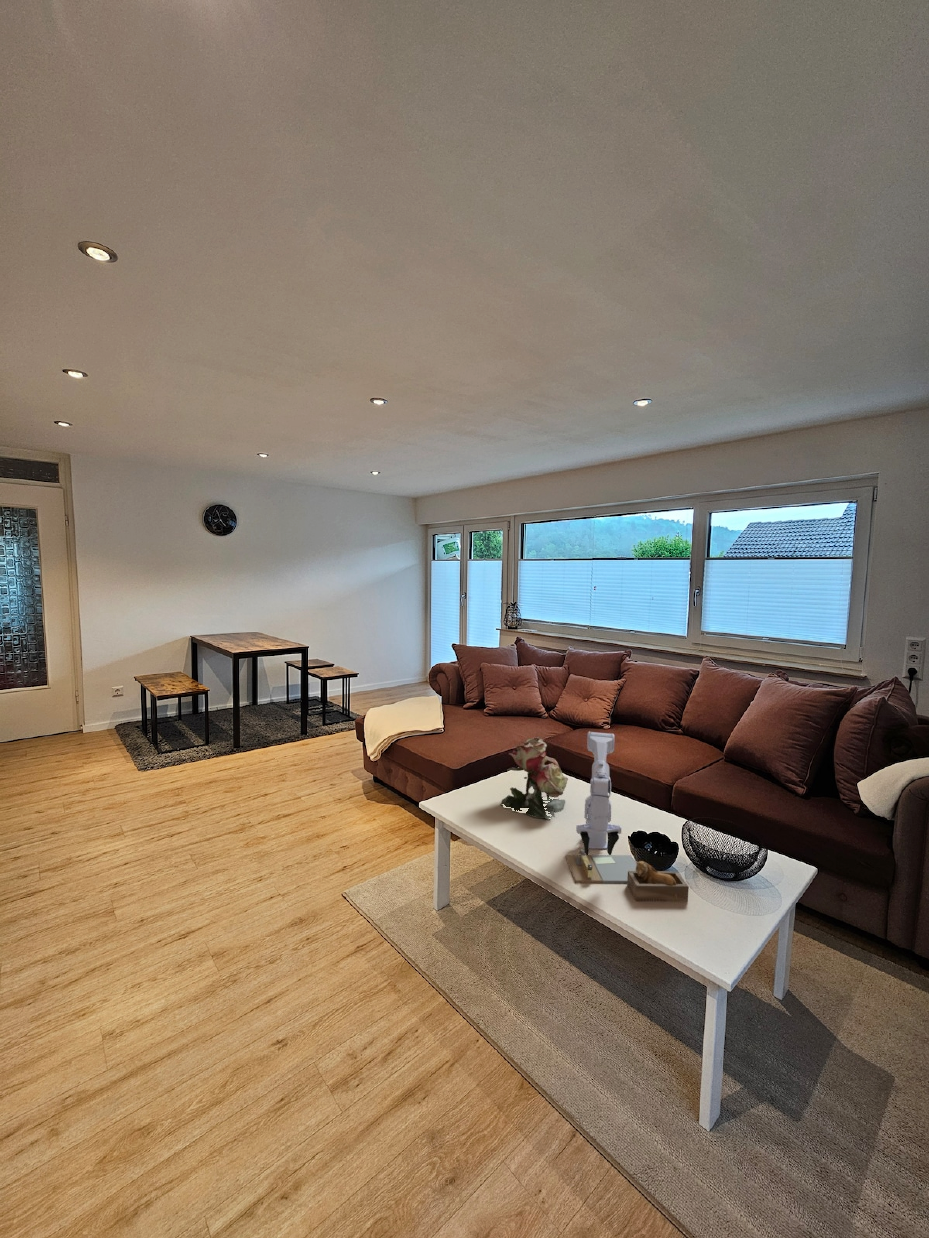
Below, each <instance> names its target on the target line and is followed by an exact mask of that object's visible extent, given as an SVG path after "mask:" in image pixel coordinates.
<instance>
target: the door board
mask: <svg viewBox="0 0 929 1238" xmlns="http://www.w3.org/2000/svg"><path fill="white" fill-rule="evenodd" d="M581 855H586V854H585V851H584V850H582V849H581V850H579V854H565V856H564V857H565V859H566V862H567V864H568V867H569V869H570V872H571V875H572V877H573V880H574V882H575V883H577V884H581V883H584V884H588V883H589V884H590V883H591V884H594V883H597V884H627V879H628V871H636V864H637V862H636V861H635V860H634V857H633V856H632V855H629V854H611V855H609V854H588V855H586V856H587V858H588V860H589V862H590V864H591V865H592V866H593V870H594V871H593V877H587V874H586V872H585V870H584V868H583V865H582V863H581Z"/></svg>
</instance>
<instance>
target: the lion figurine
mask: <svg viewBox="0 0 929 1238" xmlns="http://www.w3.org/2000/svg"><path fill="white" fill-rule="evenodd" d="M657 871H658V870H656V869H655V867H653V865H650V864H649V863H647V862H646V861H643V860H639V861H638V862H636V872H637V874H638V876H640V877H642V879H643V880H644V881H647V883H648V884H653V882H654V883H656V884H670V885H673V884H676V885H677V883H676V881H675V880H674V878H673V877H672V876H671V875H669V874H663V873H659V872H657ZM676 900H677V895H676V894H675V899H674V901H676ZM674 901H673V902H674Z"/></svg>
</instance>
